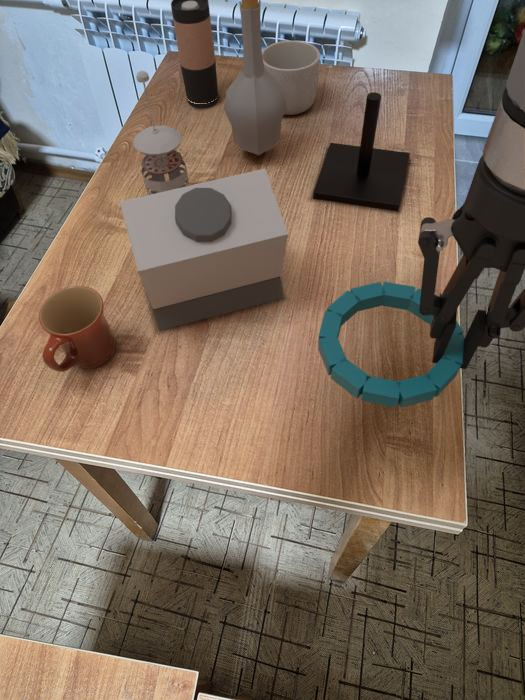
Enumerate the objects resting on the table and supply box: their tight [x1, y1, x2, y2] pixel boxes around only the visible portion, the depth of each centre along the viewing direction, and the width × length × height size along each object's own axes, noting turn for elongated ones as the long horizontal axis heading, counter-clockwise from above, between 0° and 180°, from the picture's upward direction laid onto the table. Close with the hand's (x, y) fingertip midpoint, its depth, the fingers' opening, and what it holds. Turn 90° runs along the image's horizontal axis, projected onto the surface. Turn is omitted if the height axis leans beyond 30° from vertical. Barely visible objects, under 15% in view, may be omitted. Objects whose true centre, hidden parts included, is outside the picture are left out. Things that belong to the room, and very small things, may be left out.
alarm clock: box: [119, 168, 289, 332], centre depth 76 cm, size 20×16×20 cm
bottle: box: [223, 0, 287, 157], centre depth 93 cm, size 11×11×30 cm
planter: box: [262, 40, 321, 116], centre depth 110 cm, size 12×12×11 cm
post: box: [312, 91, 411, 212], centre depth 93 cm, size 16×16×16 cm
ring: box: [317, 281, 465, 409], centre depth 55 cm, size 15×15×2 cm
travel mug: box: [170, 0, 219, 109], centre depth 109 cm, size 8×8×20 cm
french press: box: [132, 70, 190, 195], centre depth 87 cm, size 10×12×25 cm
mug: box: [38, 285, 117, 373], centre depth 73 cm, size 12×9×10 cm
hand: (450, 355), depth 55 cm, fingers closed on ring, 2 cm apart
